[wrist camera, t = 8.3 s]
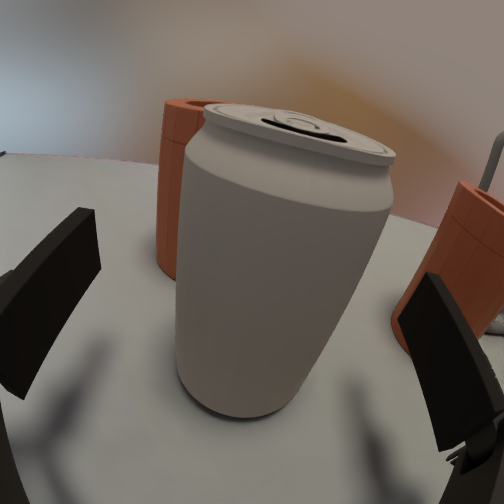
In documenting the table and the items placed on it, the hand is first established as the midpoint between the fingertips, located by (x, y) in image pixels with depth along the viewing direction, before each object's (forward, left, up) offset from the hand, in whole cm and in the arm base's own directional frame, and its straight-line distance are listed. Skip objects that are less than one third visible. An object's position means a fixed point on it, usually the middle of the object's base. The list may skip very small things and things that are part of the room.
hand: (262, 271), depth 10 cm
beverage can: (0, 0, -7) cm, 7 cm away
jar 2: (-7, -13, -7) cm, 16 cm away
